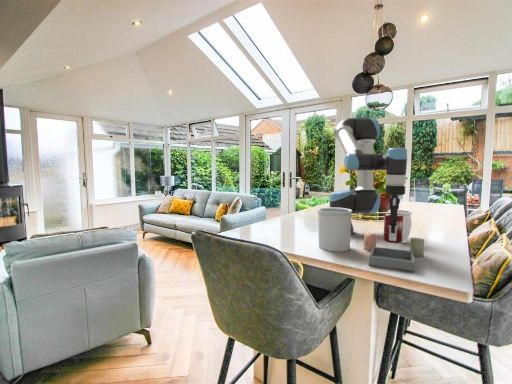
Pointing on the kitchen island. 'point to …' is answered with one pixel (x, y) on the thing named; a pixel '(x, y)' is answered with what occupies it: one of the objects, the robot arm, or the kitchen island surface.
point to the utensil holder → (334, 228)
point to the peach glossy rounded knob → (369, 241)
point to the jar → (405, 224)
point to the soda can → (399, 229)
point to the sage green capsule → (417, 247)
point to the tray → (392, 259)
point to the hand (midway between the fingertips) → (392, 238)
